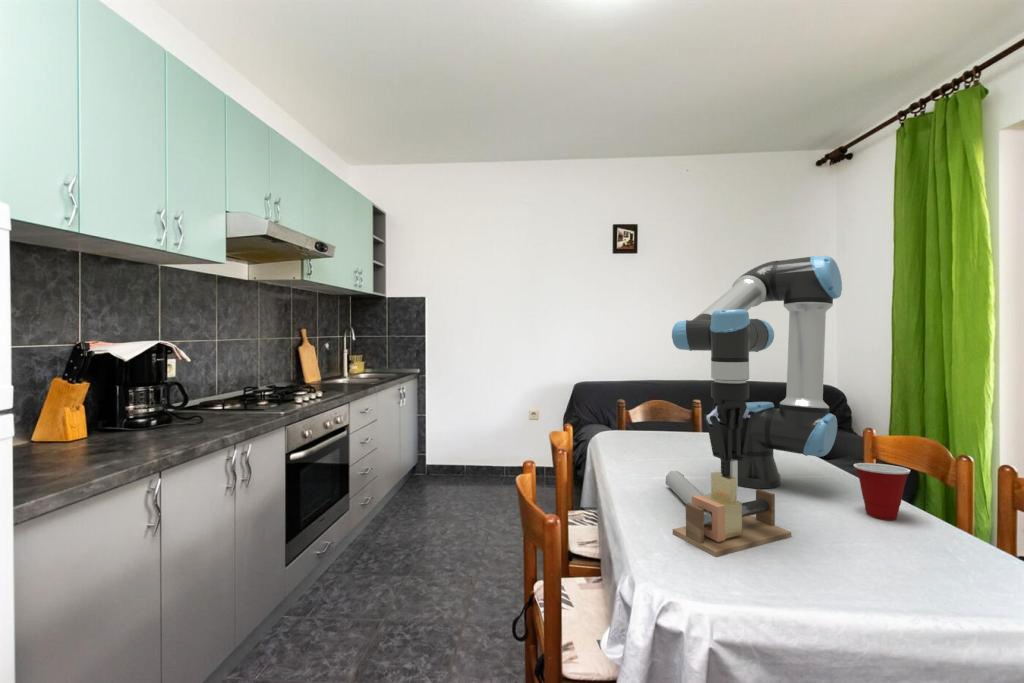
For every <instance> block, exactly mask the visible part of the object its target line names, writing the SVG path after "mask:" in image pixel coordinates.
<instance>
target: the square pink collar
mask: <svg viewBox="0 0 1024 683" xmlns="http://www.w3.org/2000/svg"><path fill="white" fill-rule="evenodd" d="M692 504H693V505H695V506H698V507H700V508H702V509H706V510H708V511H710V512H712V526H710V525H708V526H707V525H706V526H704V535H705V536H707V537H709V538H711V539H713V540H715V541H717V542H720V541H724V540H725V505H722V504H720V503H718V502H715V501H713V500H710V499H708V498H705V497H703V496H700V495H695V496H692Z"/></svg>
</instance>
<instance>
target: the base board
mask: <svg viewBox="0 0 1024 683" xmlns="http://www.w3.org/2000/svg"><path fill="white" fill-rule="evenodd" d="M755 489H756V490H755V500H759V499H765V500H766V501H767V502H768V504H769V510H768V511H767V512H763V513H758V514H755V516H753V515H750V516H745V517H742V535H738V536H734V537H730V538H726V539H725V540H724V541H720V542H717V541H715V540H713V539H711V538H709V537H707V536H705V535H704V509H702V508H700V507H698V506H695V505H693V504H691V503H686V504H685V526H681V527H677V528H676V527H675V528H673V529H672V534H673V535H674V536H676V537H678V538H680V539H682V540H684V541H685V542H687V543H689V544H691V545H693V546H695V547H697V548H698V549H701V550H702V551H704V552H706V553H708V554H709V555H711V556H713V557H715V558H717V557H720V556H723V555H728V554H732V553H734V552H739V551H743V550H746V549H750V548H754V547H757V546H762V545H765V544H769V543H772V542H776V541H780V540H783V539H787V538H791V537H792V531H790V530H787V529H785V528H783V527H780V526H777V525H776V524H775V523H776V522H775V521H776V520H775V519H776V517H775V516H776V515H775V514H776V513H775V512H776V506H775V505H776V502H775V501H776V500H775V499H776V496H775V495H776V494H775V493H773V492H770V491H766V490H763V489H762V488H755Z"/></svg>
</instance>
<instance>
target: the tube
mask: <svg viewBox="0 0 1024 683" xmlns="http://www.w3.org/2000/svg"><path fill="white" fill-rule="evenodd" d="M665 485H666V486H667V487H669V488H670V489H671V490H672V491H673V492H674V493H675V494H676V495H677V496H678V497H679V499H680V500H682V501H683V503H685V505H686V503H691V504H692V496H695V495H700V496H702V495H705V494H704V493H703V492H702V491H700V489H698V488H697V487H696V486H695V485H694V484H693V483H692V482H690V481H689V480H688V479H687V478H686V477H685V475H684V474H682V473H681V472H680V471H679V470H669V472H668V473H667V475H666V476H665Z"/></svg>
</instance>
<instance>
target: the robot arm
mask: <svg viewBox="0 0 1024 683" xmlns="http://www.w3.org/2000/svg"><path fill="white" fill-rule="evenodd" d="M842 291H843V282H842V276H841V271H840V268H839V265H838V263H837V262H836V261H835V259H834V258H833V257H831V256H829V255H819V256H818V255H817V256H814V255H812V256H806V257H798V258H791V259H789V258H788V259H781V260H772V261H768V262H765V263H762V264H760V265H758V266H755V267H753V268H751V269H750V270H747V271H746V272H745V273H743V274H742V275H740V276H739V277H737V278H736V279H735V280H734V282H733V283H732V286H731V288H729V289H728V290H727V291H726V292H725V293H724V294H722V295H721V296H720V297H719V298H718V299H717V300H715V301H714V302H713V303H711V304H710V305H709V306H708V307H707V308H705V309H704V310H703V311H701V312H700V313H699V314H698V315H697V316H696V317H694V318H692V319H690V320H688V319H685V320H680V321H679V320H678V321H677V322H676V323H674V325H673V327H672V329H671V330H672V331H671V339H672V342H673V346H675V348H676V349H678V350H683V351H690V352H692V351H701V352H703V351H708V352H709V351H710V368H711V369H710V378H711V379H712V380H713V381H711V383H710V397H711V398H712V399H713V405H712V407H711V408H712V410H711V412H710V413H709V414H708V413H707V414H706V413H705V414H704V415H703V420H704V422H705V423H706V425H707V430H708V431H707V432H708V436H709V441H710V447H711V451H712V456H713V457H715V458H718V459H720V473H721V474H723V475H726V476H728V475H729V476H732V477H735V478H737V492H738V489H739V488H738V486H740V487H744V488H745V487H746V488H751V489H773V488H777V487H779V486H780V485H781V475H780V473H779V470H778V466H777V463H776V461H775V457H774V450H775V451H781V452H785V453H786V452H788V453H793V454H798V455H804V456H806V457H807V456H812V457H818V458H819V457H820V458H821V457H824V456H826V455H828V454H829V453H830V452H831V450H832V448H833V446H834V444H835V440H836V437H837V432H838V419H837V417H836V415H835V414H832V413H830V406H829V405H828V404H827V403H826V402H825V401H824V400H823V399H824V396H823V395H824V373H825V372H824V371H825V348H826V347H825V341H826V316H827V315H826V314H827V311H829V310H830V309H831V308H832V307H833V306H834V304H833V303H834V300H836V299H839V298H840V297H841V295H842ZM766 302H783V307H784V308H785V309H786V310H787V311H788V313H789V316H788V317H789V318H788V339H787V340H788V343H787V344H788V345H787V366H786V368H787V369H786V371H787V373H786V395H785V398H784V399H783V400H781V401H780V402H779V408H775V405H774V402H771V401H752V402H746V401H748V400H749V398H750V384H749V383H748V382H747V381H749V380H750V353H754V352H755V353H757V352H758V353H759V352H761V351H764V350H766V349H768V348H769V347H770V346H771V345H772V344H773V342H774V338H775V330H774V329H773V326H772V325H771V324H770V323H769V322H767V321H766V320H765V319H764V320H763V319H759V318H750V315H749V314H750V313H749V310H750V309H751V308H754V307H755V308H756V307H758V306H760V305H761V304H763V303H766Z"/></svg>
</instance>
